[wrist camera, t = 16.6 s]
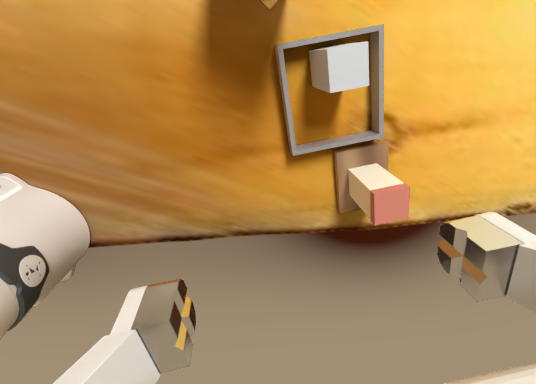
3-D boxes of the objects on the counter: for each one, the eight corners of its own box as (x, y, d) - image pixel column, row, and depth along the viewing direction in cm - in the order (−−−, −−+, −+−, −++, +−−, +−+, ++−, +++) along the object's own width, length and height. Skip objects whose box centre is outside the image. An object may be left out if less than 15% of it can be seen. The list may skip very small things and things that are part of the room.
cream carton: (349, 195, 46) (374, 225, 38) (347, 168, 44) (374, 194, 36) (377, 189, 46) (408, 218, 38) (377, 162, 44) (410, 186, 36)
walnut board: (337, 210, 49) (340, 213, 48) (333, 150, 44) (336, 152, 43) (384, 200, 49) (387, 203, 48) (384, 140, 44) (388, 142, 43)
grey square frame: (289, 150, 43) (292, 155, 41) (274, 45, 37) (277, 44, 35) (375, 133, 44) (383, 137, 41) (374, 26, 37) (383, 24, 35)
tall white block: (312, 86, 40) (330, 93, 33) (308, 50, 38) (326, 49, 31) (344, 80, 40) (369, 85, 33) (342, 44, 38) (368, 41, 31)
